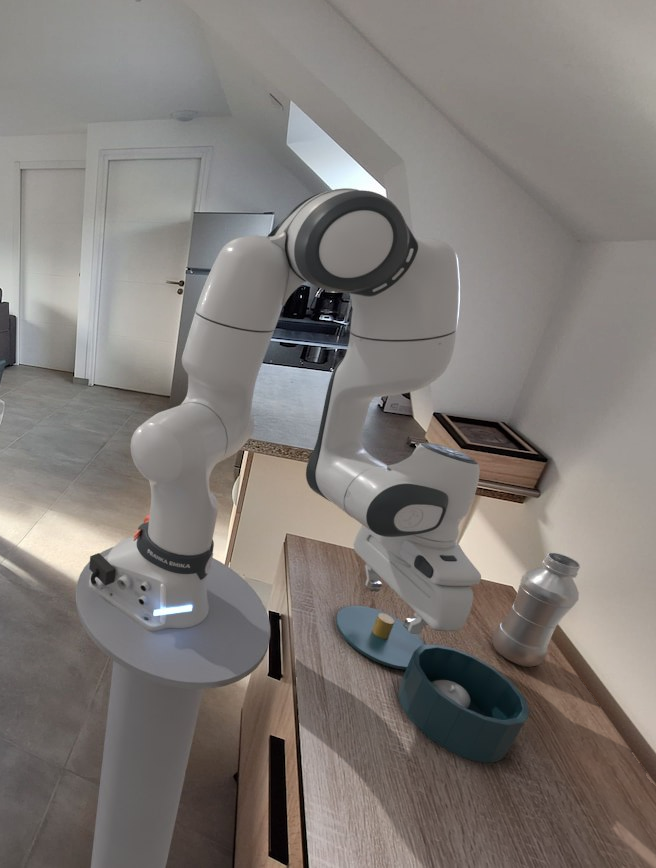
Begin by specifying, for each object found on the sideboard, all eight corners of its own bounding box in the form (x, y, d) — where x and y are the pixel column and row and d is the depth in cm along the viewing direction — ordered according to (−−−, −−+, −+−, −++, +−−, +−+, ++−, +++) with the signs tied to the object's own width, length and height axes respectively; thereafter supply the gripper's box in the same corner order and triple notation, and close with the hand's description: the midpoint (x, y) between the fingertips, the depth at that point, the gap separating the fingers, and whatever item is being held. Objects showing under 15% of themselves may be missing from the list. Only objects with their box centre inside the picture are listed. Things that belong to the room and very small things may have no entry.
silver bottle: (531, 650, 78) (583, 555, 71) (545, 679, 73) (603, 580, 66) (482, 634, 81) (528, 541, 74) (493, 661, 76) (543, 564, 69)
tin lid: (330, 644, 78) (338, 624, 76) (338, 599, 88) (344, 580, 87) (428, 687, 71) (438, 665, 69) (423, 633, 81) (432, 612, 79)
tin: (398, 726, 65) (415, 688, 62) (397, 666, 74) (412, 631, 72) (515, 783, 58) (539, 744, 56) (498, 709, 68) (518, 673, 65)
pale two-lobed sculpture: (426, 691, 71) (470, 703, 67) (425, 729, 65) (473, 744, 62) (424, 667, 70) (468, 678, 67) (423, 703, 64) (471, 717, 61)
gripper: (355, 505, 82) (336, 567, 87) (448, 584, 63) (417, 658, 68) (389, 506, 82) (368, 568, 87) (493, 584, 63) (458, 658, 68)
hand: (390, 608), depth 77 cm, fingers open, 8 cm apart
